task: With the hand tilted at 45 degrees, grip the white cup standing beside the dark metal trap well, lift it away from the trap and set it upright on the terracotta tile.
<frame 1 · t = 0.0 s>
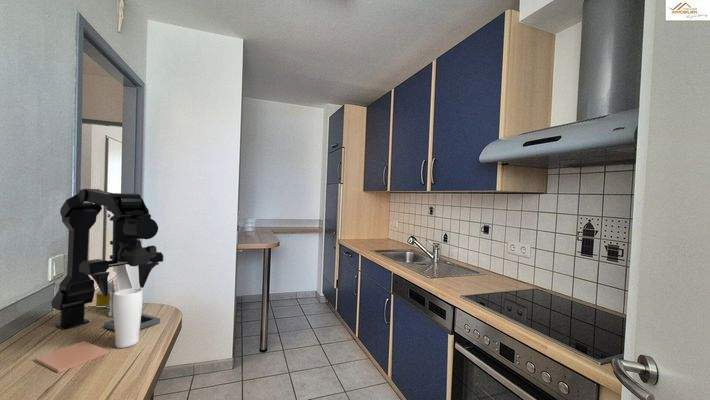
hand: (124, 291, 84), 15 cm above the table, tool pointing down, fingers open, 9 cm apart
white cup: (127, 345, 84), on the table
trap well: (132, 325, 96), on the table
terracotta tile: (72, 356, 77), on the table
supplement bottle: (105, 309, 109), on the table
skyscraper: (127, 314, 105), on the table
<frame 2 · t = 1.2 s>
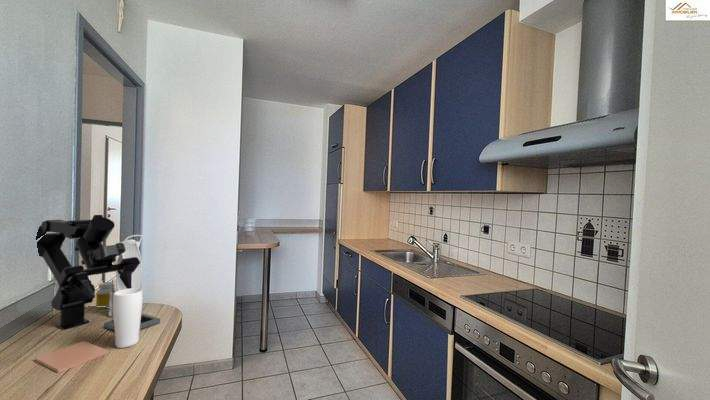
hand: (112, 293, 87), 13 cm above the table, tool tilted 45°, fingers open, 9 cm apart
nothing on the table moved.
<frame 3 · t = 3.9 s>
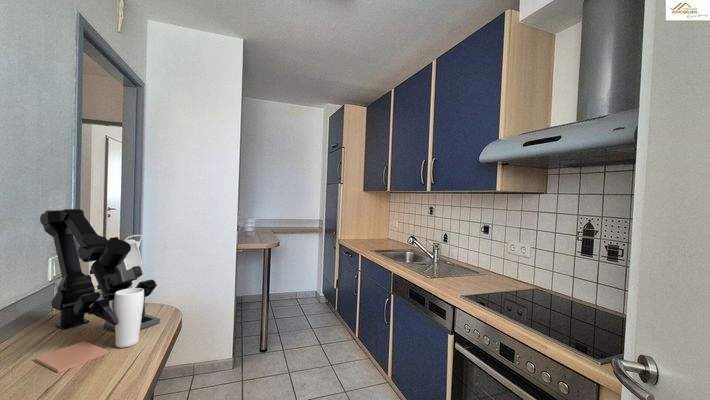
hand: (130, 320, 83), 7 cm above the table, tool tilted 45°, fingers closed on white cup, 7 cm apart
white cup: (127, 344, 84), on the table, touching gripper
everything else where it was.
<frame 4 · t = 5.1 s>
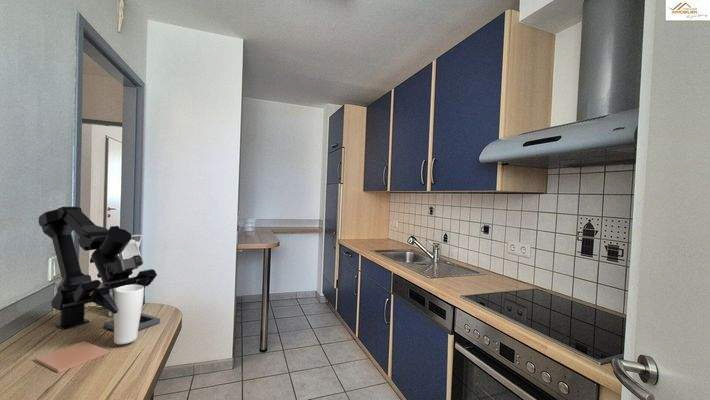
hand: (130, 308, 83), 10 cm above the table, tool tilted 45°, fingers closed on white cup, 7 cm apart
white cup: (125, 341, 84), point 1 cm above the table, touching gripper
everything else where it was.
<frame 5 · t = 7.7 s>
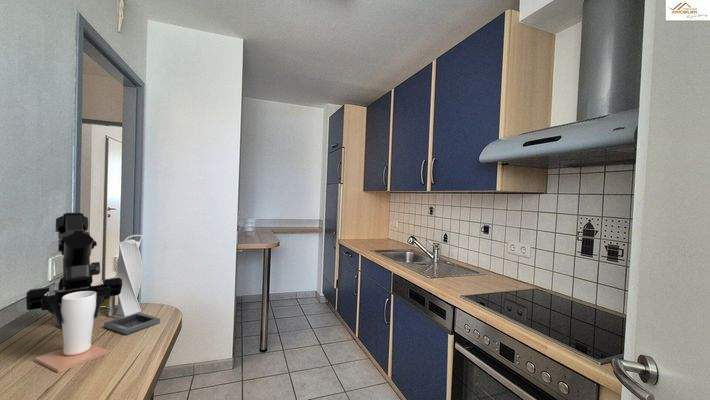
hand: (78, 320, 76), 10 cm above the table, tool tilted 45°, fingers closed on white cup, 6 cm apart
white cup: (77, 351, 78), point 1 cm above the table, touching gripper, terracotta tile
everything else where it was.
when the fingers open (10 cm above the table, at t = 8.0 s): white cup stays where it is, resting on terracotta tile.
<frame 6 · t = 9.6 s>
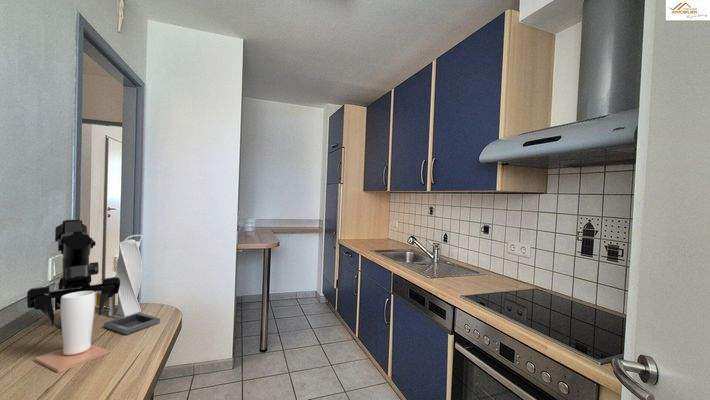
hand: (77, 318, 79), 9 cm above the table, tool tilted 45°, fingers open, 9 cm apart
white cup: (77, 352, 78), point 1 cm above the table, touching terracotta tile
everything else where it was.
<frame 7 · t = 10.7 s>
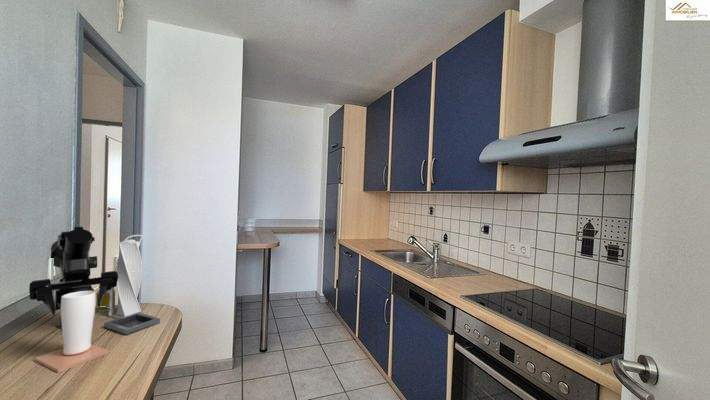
hand: (77, 309, 83), 10 cm above the table, tool tilted 45°, fingers open, 9 cm apart
nothing on the table moved.
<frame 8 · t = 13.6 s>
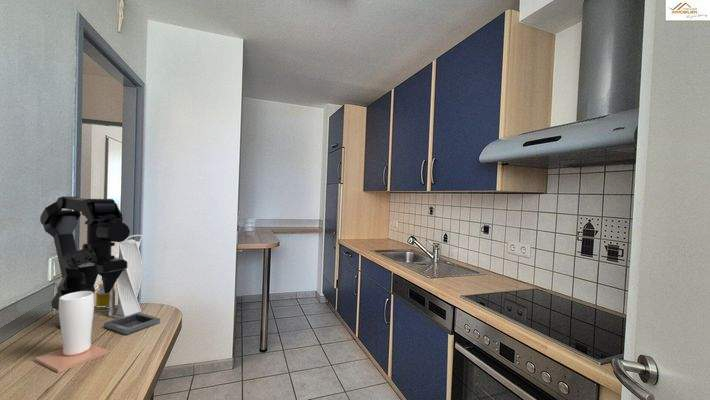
hand: (98, 291, 90), 13 cm above the table, tool pointing down, fingers open, 9 cm apart
at the end: white cup inside the target area on the terracotta tile (1.3 cm from its centre), point 0.6 cm above the terracotta tile's base; white cup tilted 3°; the gripper is holding nothing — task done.
